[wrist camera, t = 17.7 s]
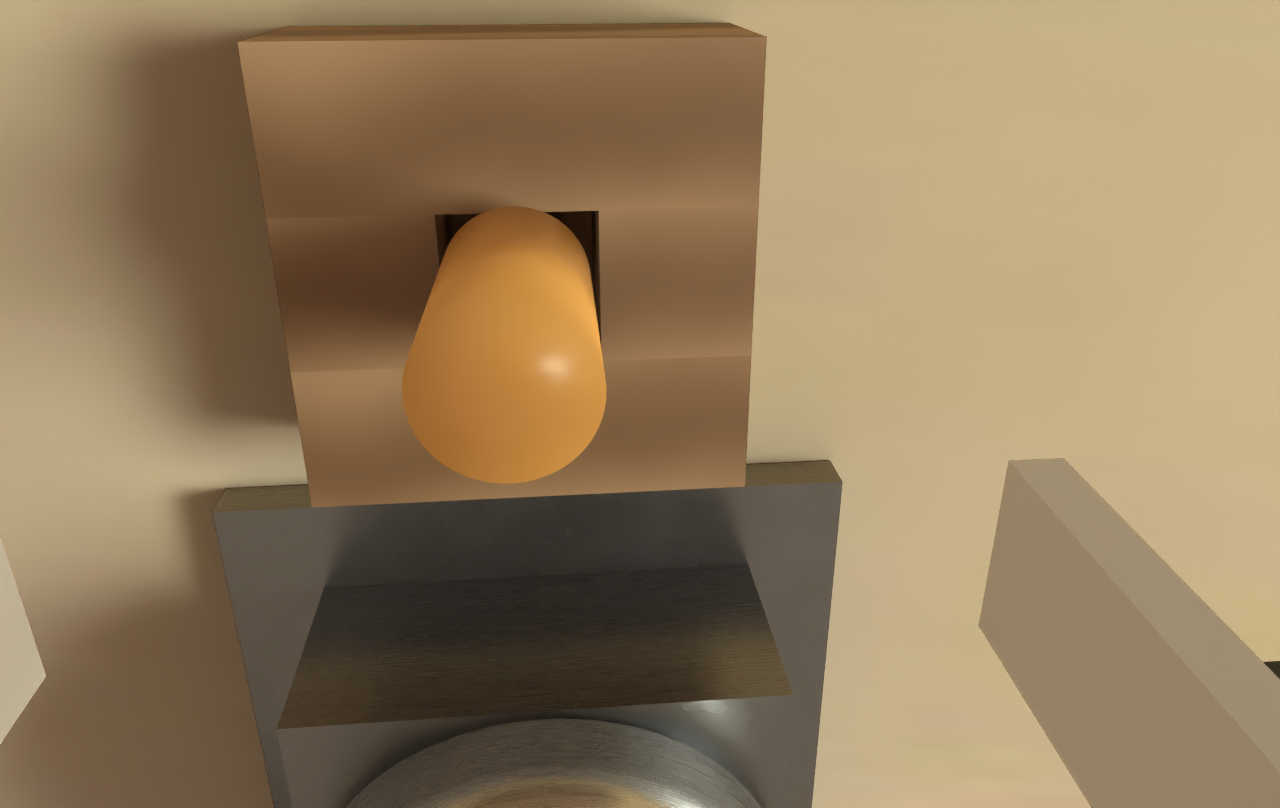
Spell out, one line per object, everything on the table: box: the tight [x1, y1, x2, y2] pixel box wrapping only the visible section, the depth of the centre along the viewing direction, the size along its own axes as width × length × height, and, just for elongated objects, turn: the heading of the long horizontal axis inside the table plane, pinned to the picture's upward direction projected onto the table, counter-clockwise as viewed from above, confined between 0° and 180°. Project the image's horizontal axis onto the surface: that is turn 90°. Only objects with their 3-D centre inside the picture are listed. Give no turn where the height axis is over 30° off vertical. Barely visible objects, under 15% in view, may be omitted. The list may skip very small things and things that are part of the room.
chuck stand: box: [212, 461, 842, 808], centre depth 34 cm, size 20×20×8 cm
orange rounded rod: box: [402, 206, 607, 484], centre depth 23 cm, size 4×4×12 cm
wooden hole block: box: [237, 23, 767, 507], centre depth 27 cm, size 12×12×5 cm
